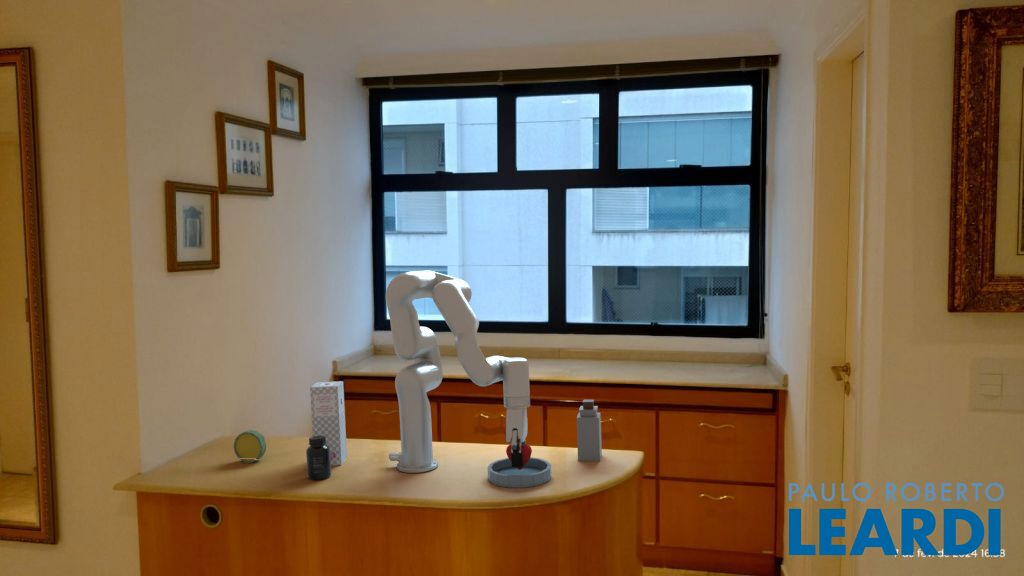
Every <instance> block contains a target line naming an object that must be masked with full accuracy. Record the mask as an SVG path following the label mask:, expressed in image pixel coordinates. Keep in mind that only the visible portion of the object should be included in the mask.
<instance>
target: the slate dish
mask: <svg viewBox="0 0 1024 576" xmlns="http://www.w3.org/2000/svg"><path fill="white" fill-rule="evenodd" d="M487 477H488V482H489V483H491V484H492V485H494V486H497V487H501V488H510V489H526V488H533V487H539V486H541V485H544V484H546V483H548V482H549V481H550V480H551V479H552V464H551V463H550V462H549V461H548V460H545V459H543V458H538V457H533V456H531V457H530V459H529V460H528V462H527V463H526V464H525V466H524V467H523V468H522V469H521V470H518V469H517V468H516V467H512V464H511V461H510V460H509V458H508V457H506V458H502V459H501V458H500V459H498V460H495V461H493V462H490V463H489V465H488V466H487Z"/></svg>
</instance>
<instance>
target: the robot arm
mask: <svg viewBox="0 0 1024 576" xmlns="http://www.w3.org/2000/svg"><path fill="white" fill-rule="evenodd" d="M425 298H427V299H432V300H433V303H434V305H435V306H436V308H437V309H438V311H439V312H440V314H441V316H442V318H443V320H444V321H445V323H446V324H447V326H448V328H449V329H450V331H451V333H452V335H453V336H454V346H455V350H456V351H455V352H456V355H457V358H458V361H459V363H460V365H461V367H462V368H463V370H464V372H465V374H466V375H467V376H468V378H469V379H470V381H472V383H473V384H475V385H477V386H479V387H488V386H490V385H493V384H494V383H498V382H500V381H502V384H503V385H502V386H503V407H504V408H505V409H506V419H505V426H506V427H505V432H506V434H505V435H506V436H505V437H506V438H505V441H506V443H507V444H509V443H510V442H512V443H510V444H511V464H512V467H522V466H523V453H521V448H522V442H524V441H525V442H526V438H527V435H528V409H527V408H529V407H531V398H530V397H531V395H530V394H531V391H530V367H529V365H530V364H529V360H528V359H526V358H525V357H508V356H507V357H506V356H501V355H491V356H488V357H485V355H484V354H483V352H482V351H481V348H480V345H479V344H478V339H477V332H478V329H479V327H480V326H479V325H480V320H479V318H478V317H477V315H476V313H475V312H474V310H473V309H472V307H471V304H469V303H470V301H471V298H472V289H471V287H470V285H469V283H467V281H465V280H463V279H460V278H458V277H454V276H450V275H447V274H444V273H440V272H436V271H433V270H427V269H426V270H411V271H406V272H402V273H400V274H398V275H396V276H395V277H394V278H392V279H391V281H390V282H389V283H388V285H387V287H386V291H385V302H386V307H387V313H388V315H389V321H390V330H391V336H392V341H393V349H394V352H395V355H396V356H397V358H399V359H400V360H401V361H405V362H406V361H412V360H413V363H412V364H411V363H410V364H409V365H406V366H403V368H401V369H399V371H398V372H397V374H396V376H395V379H394V380H395V381H394V387H395V392H396V395H397V400H398V409H399V412H398V413H399V428H400V448H401V449H400V450H401V451H400V452H397V453H396V452H389V454H388V459H389V460H390V462H391V461H392V462H395V461H397V464H396V469H397V470H398V471H400V472H403V473H409V474H416V473H425V472H429V471H432V470H435V469H436V468H438V466H439V461H438V460H437V459H435V458H434V453H433V450H434V449H433V432H432V431H433V430H432V411H431V408H432V407H431V404H430V403H431V402H430V400H429V398H428V395H427V393H428V392H430V391H432V390H435V389H436V388H438V387H439V386H440V384H441V383H442V380H443V375H444V373H443V371H444V370H443V364H442V358H441V353H440V351H441V350H440V347H439V346H440V345H439V342H438V341H439V339H438V338H437V335H436V334H435V332H434V331H433V330H432V329H430V328H429V327H427V326H421V325H420V323H419V315H418V312H417V309H416V307H415V305H414V304H413V301H414V300H419V299H425ZM519 440H520V442H519ZM517 441H518V442H517ZM517 444H519V446H518V445H517ZM524 444H527V442H526V443H524Z"/></svg>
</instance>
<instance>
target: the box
mask: <svg viewBox="0 0 1024 576" xmlns="http://www.w3.org/2000/svg"><path fill="white" fill-rule="evenodd" d="M309 388H310V389H309V390H310V408H311V409H310V410H311V426H312V427H311V429H312V437H313V436H325V437H326V443H325V444H326V445H328V446H329V448H330V461H331V467H332V466H342V465H343V464H344V463H345V461H346V459H347V458H348V453H347V452H348V447H347V432H346V428H347V427H346V408H345V391H344V381H343V380H339V381H317V382H314V384H313V385H312V386H310V387H309Z"/></svg>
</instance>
